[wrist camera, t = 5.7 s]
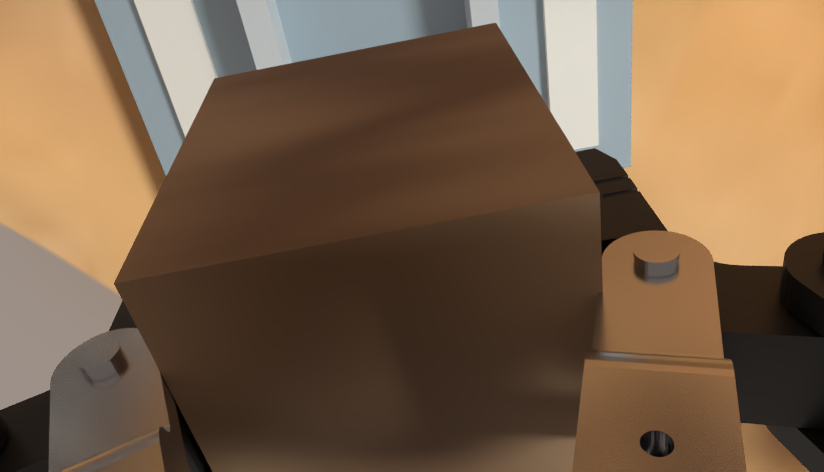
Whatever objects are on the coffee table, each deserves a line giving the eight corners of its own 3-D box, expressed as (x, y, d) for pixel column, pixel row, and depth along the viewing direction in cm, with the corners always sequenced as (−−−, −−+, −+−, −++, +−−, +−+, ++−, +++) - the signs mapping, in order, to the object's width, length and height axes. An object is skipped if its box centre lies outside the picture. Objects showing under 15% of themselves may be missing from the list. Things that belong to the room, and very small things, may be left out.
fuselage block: (496, 22, 12) (598, 191, 7) (521, 255, 15) (609, 499, 10) (214, 77, 12) (114, 282, 7) (291, 298, 15) (258, 559, 10)
